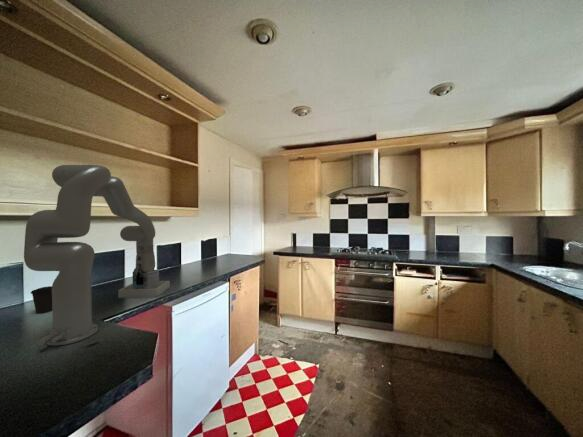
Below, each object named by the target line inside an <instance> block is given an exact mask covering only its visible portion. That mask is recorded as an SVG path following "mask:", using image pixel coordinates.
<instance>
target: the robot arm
mask: <svg viewBox="0 0 583 437" xmlns="http://www.w3.org/2000/svg"><path fill="white" fill-rule="evenodd" d="M51 176H52V178H51V179H52V180H53V181H54V183H55V184H56V185H57V186H59V187H60V190H59V191H58V195H57V199H56V200H57V201H56V208H55V209H43V210H38V211H37V212H34V213H33V214H31V215H30V217H28V219H27V221H26V225H25V231H24V232H25V233H24V247H23V260H24V264H25V266H26V267H27V268H28V269H30V270H32V271H35V272H58V274H57V275H56V277H55V278H54V280H53V282H52V285H51V286H52V311H51V312H52V315H51V316H52V328H51V329H49V334H48V335H47V336H44V337H42V338H41V339H38V341H37V345H38V346H40V347H42V346H44V345H48V346H51V347H57V346H59V347H60V346H65V345H70V344H74V343H77V342H80V341H82V340H85V339H87V338H89V337H91V336H93V335H95V333H97V332H98V329H99V326H98V324H96V323H93V310H92V309H93V302H92V301H93V300H92V295H93V294H92V271H93V270H92V269H93V265H94V261H95V249H94V248H93V247H92V246H91V245H90V244H88V243H86V242H82V241H58V239H71V238H72V239H73V238H74V239H75V238H81V237H85V236H87V234H88V233H89V232H90V229H91V218H92V217H91V215H92V201H93V198H94V197H102V198H103V199H104V200H105V202H106V204H107V205H108V207H109V210H110V211H111V213H112V214H113V215H114V216H116V217H119V218H122V219H125V220H128V221H131V222H133V223H135V224H137V225H127V226H125V227H123V228H122V229H121V230H120V233H119V235H120V238H121V239H122V240H123V241H126V242H135V248H136V249H135V251H136V255H135V256H136V257H135V267H134V269H133V271H134V273H135V277H136V285H143V277H142V276H143V273H144V272H148V271H150V270H152V269H154V270H155V268H156V256H155V252H154V238H155V237H156V229H155V225H154V223H153V222H152V219H151V217H149V215H148V214H146V213H145V212H143V211H142V210H141V209H139V208H138V207H136V206H135V205H134V203H133V201H132V199H131V196H130V194H129V192H128V190H127V188H126V186H125V184H124V182H123V180H121V178H120V177H117V176H114V175H113V176H112V174H111V171H110V169H109V168H107V167H106V166H104V165H98V164H61V165H58V166H56V167H55V168H54V169H53V170H52V172H51ZM140 273H141V274H140Z"/></svg>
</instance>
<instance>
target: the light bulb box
mask: <svg viewBox="0 0 583 437" xmlns="http://www.w3.org/2000/svg"><path fill="white" fill-rule="evenodd" d="M159 272H160V270H159V269H155V268H154V269H152V270H150V271H148V272H144V273H143V276H142V277H143V285H136V277H135V273H134V270H133V271H132V283H133V289H156V288H157V287H159V281H160V273H159ZM140 274H141V273H140Z"/></svg>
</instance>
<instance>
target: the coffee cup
mask: <svg viewBox="0 0 583 437" xmlns="http://www.w3.org/2000/svg"><path fill="white" fill-rule="evenodd" d="M30 294H32V295H31V296H32V299H33V300H32V301H33V305H34V310H35V313H36V314H37V315H39V314H47V313H50V312H52V285H51V286H50V285H49V286H43V287H42V286H41V287H39V288H36V289H33V290H31V291H30Z"/></svg>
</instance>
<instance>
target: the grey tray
mask: <svg viewBox="0 0 583 437" xmlns="http://www.w3.org/2000/svg"><path fill="white" fill-rule="evenodd" d="M170 288H171V282H170V280H159V287H157V288H156V289H133V282H132V283H131V284H128V285H125V286H124V287H122V288H120V289H118V290H117V292H118V293H117V295H118V296H117V297H118V299H140V298H141V297H150V298H157V296H158V295H159V296H161V295H162V294H164V293H165V292H167V291H168V290H169V289H170ZM160 294H161V295H160ZM159 296H158V297H159ZM141 299H142V298H141Z"/></svg>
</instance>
